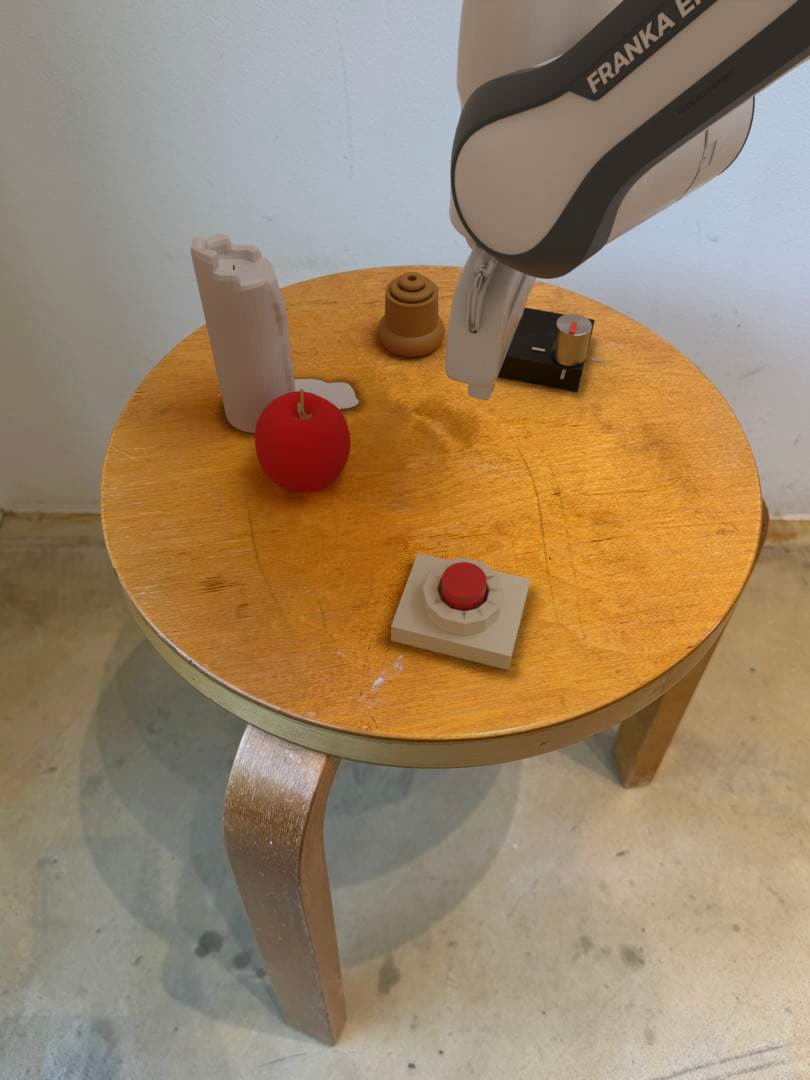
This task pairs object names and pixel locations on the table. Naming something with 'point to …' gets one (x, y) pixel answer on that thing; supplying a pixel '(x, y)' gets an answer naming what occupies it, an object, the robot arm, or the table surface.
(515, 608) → the switch box
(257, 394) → the candle
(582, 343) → the dial knob
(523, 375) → the dial panel
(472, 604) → the power button
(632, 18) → the robot arm
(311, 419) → the fruit
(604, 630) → the table surface
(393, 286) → the ornamental finial
